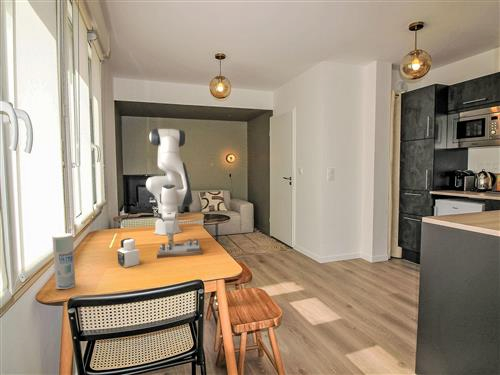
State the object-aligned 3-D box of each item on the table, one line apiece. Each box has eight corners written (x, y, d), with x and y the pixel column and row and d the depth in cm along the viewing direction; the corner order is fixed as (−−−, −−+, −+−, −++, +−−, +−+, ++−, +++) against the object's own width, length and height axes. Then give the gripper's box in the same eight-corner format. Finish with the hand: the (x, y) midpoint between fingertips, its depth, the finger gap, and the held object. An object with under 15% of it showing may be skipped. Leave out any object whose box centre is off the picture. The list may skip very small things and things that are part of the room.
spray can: (58, 291, 107) (55, 238, 106) (53, 287, 112) (50, 235, 110) (78, 286, 112) (75, 234, 111) (72, 281, 117) (69, 232, 115)
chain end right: (173, 248, 156) (172, 239, 155) (198, 247, 159) (198, 238, 158) (172, 252, 149) (172, 243, 149) (199, 250, 152) (199, 241, 151)
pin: (168, 247, 165) (167, 229, 164) (173, 246, 166) (173, 229, 165) (168, 248, 162) (167, 230, 161) (173, 248, 163) (173, 230, 162)
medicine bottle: (117, 264, 136) (116, 239, 135) (132, 260, 142) (131, 236, 141) (124, 268, 132) (123, 242, 131) (139, 264, 137) (138, 239, 136)
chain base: (158, 251, 156) (158, 248, 156) (200, 248, 161) (200, 246, 161) (156, 258, 145) (156, 255, 145) (201, 254, 150) (201, 251, 150)
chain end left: (160, 249, 154) (160, 243, 154) (186, 248, 157) (186, 241, 157) (159, 253, 148) (159, 246, 147) (186, 251, 150) (186, 245, 150)
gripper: (165, 211, 172) (166, 234, 173) (162, 217, 152) (163, 243, 153) (176, 211, 173) (177, 234, 174) (175, 216, 153) (176, 242, 154)
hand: (170, 238), depth 163 cm, fingers closed on pin, 3 cm apart
